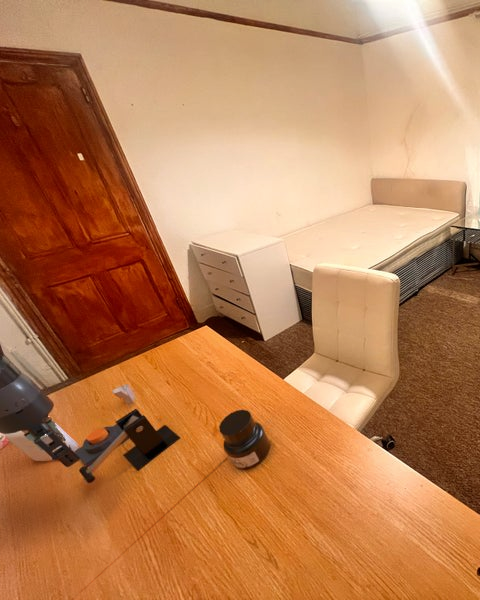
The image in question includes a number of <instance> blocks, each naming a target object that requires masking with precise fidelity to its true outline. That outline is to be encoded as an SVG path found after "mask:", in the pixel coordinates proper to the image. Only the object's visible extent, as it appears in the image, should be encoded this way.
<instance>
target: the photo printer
mask: <svg viewBox="0 0 480 600" xmlns="http://www.w3.org/2000/svg"><path fill="white" fill-rule="evenodd" d="M54 423H55V424H56V427H57V428H58V429H59V431H60V432H61V433H62V434H63V435H64V436H65V437H64V438H65V439H66V441H65V442H66V443H67V445H70V447H71V448H72V450H73V451H76V450H77V449H79V448H80V445H79V444H78V443H77V442H76V440H74V439H73V438H72V437H71V436H70V435H69V433H67V432H66V431H65V430H64V429H63V428H62V427H61V426H60V425H58V424H57V423H56V422H54ZM23 434H25V433H23V432H22V431H19V432H16V433H11V434H4V435H5V439H6V440H7V441H9V442H10V443H11V444H12V445H14V446H15V447H16V448H17V449H19V450H20V451H21V452H22V453H23V454H25V455H26V456H28V457H29V458H30V459H31V460H33V461H35V462H51V461H54V460H53V459H52V457H51V456H50V455H48V454H47V453H46V452H45V451H44V450H40V449H39V448H38V447H37V446H36V445H35V443H34V442H33V441H31V440H28V439H27V438H26V437H25V436H24V435H23ZM60 447H62V446H59V447H58V448H56V449H54V450H53V451H56V450H57V449H59V448H60Z"/></svg>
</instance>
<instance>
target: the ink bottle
mask: <svg viewBox="0 0 480 600" xmlns="http://www.w3.org/2000/svg"><path fill="white" fill-rule="evenodd" d="M218 429H219V433H220V435H221V437H222V438H223V439H224V440H223V450H224V452H225V454H226V455H227V457H228V459H229V460H230V463H231V464H232V465H233V466H234V467H235V468H237V469H241V470H249V469H253V468H255V467H256V466H258V465H259V464H260V463H261V462H262V461H263V460H265V458H266V457H267V456H268V454H269V451H270V449H271V442H270V439H269V437H268V435H267V433H266V431H265V429H264V427H263V425H262V424H261V423H260V422H258V421H255V420H254V418H253V415H252V414H251V412H249V410H246V409H238V410H237V409H236V410H235V411H233V412H230V413H229V414H227V415H226V416H225V417H224V418H223V419H222V420H221V421H220V424H219V426H218Z"/></svg>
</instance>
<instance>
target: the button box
mask: <svg viewBox="0 0 480 600" xmlns="http://www.w3.org/2000/svg"><path fill="white" fill-rule="evenodd" d="M103 428H104V429H105V430H106V431H107V432H108V433H109V435H108V437H107V438H106V439H105V440H103V441H102V442H100V443H98V444H95V445H93V444H91V443H90V442H89V441H88V440H87V438H85V439H84V440H83V443H82V446H79V447H78V449H77V450H76V451H74V452H75V453H76V454H77V455H78V456H79V457H80V460H79V461H81V463H82V464H83V466H86V467H87V468H89V467H90V466H91V465H92V464H93V463H94V462H95V461H96V460H97V459H98V458H99V456H100V455H101V454H102V453H103V452H104V451H105V450H106V449H107V448H108V447H109V446H110V445H111V444H112V443H113V442H114V440H115V439H116V438H117V437H118V436H119V435H120V434H121V433H122V432H123V430H122V429H121V428H120V427H119V426H118V425H117V424H116V423H115V424H114V425H111V426H107V425H106V426H104V427H103ZM128 440H130V439H129V437H128V436H127V437H126V438H125V439H124V440H123V441H122V442H121V443H120V444H119V445H118V446H117V448H119V446H121V445H123V443H125V442H126V441H128Z"/></svg>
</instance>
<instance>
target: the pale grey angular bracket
mask: <svg viewBox="0 0 480 600" xmlns="http://www.w3.org/2000/svg"><path fill="white" fill-rule="evenodd" d="M112 394H113V395H114V396H116V397H117V398H119V399H120V400H121V399H123V401H124V402H125V404H126V405H130V404H132V403H135V399H136V393H135V392H134V391H133V389H132V388H131V386H130V385H129V384H123V385H120V386H119V387H117V388H114V389H112Z"/></svg>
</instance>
